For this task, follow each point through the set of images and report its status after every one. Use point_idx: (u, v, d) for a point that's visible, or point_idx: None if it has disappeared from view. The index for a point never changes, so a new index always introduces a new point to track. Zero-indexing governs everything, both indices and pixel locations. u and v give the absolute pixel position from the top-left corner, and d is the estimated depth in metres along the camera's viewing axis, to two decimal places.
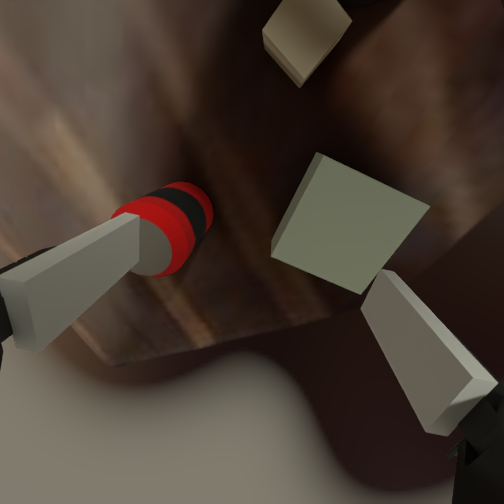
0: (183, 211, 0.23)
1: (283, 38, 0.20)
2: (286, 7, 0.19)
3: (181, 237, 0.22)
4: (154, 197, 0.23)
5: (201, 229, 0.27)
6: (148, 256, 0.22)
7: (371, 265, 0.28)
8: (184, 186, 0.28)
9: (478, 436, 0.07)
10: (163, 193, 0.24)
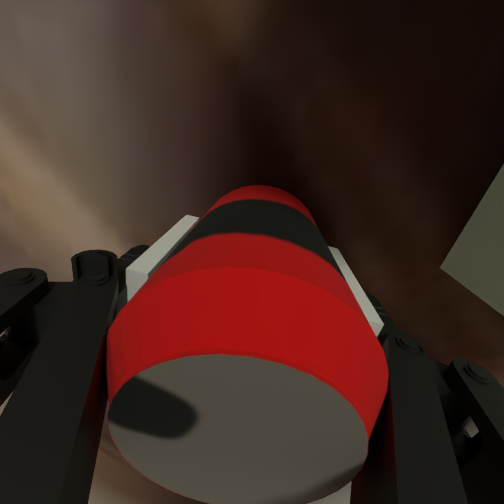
0: (327, 260, 0.07)
1: None
2: None
3: (379, 372, 0.06)
4: (235, 236, 0.07)
5: None
6: (267, 467, 0.06)
7: None
8: (265, 192, 0.12)
9: None
10: (245, 217, 0.08)
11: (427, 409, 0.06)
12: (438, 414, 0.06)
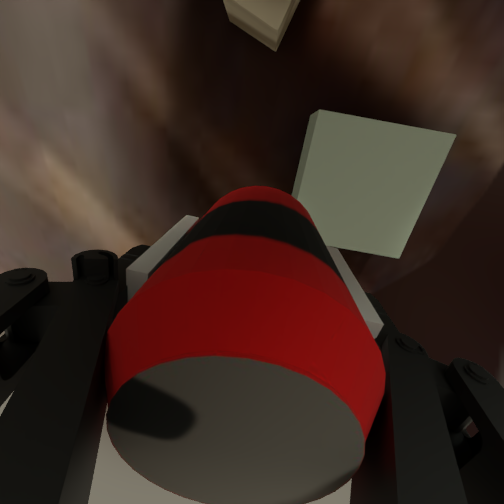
0: (325, 261, 0.07)
1: None
2: None
3: (376, 373, 0.06)
4: (233, 237, 0.07)
5: None
6: (264, 467, 0.06)
7: (403, 221, 0.24)
8: (264, 193, 0.12)
9: None
10: (243, 218, 0.08)
11: (427, 409, 0.06)
12: (438, 414, 0.06)
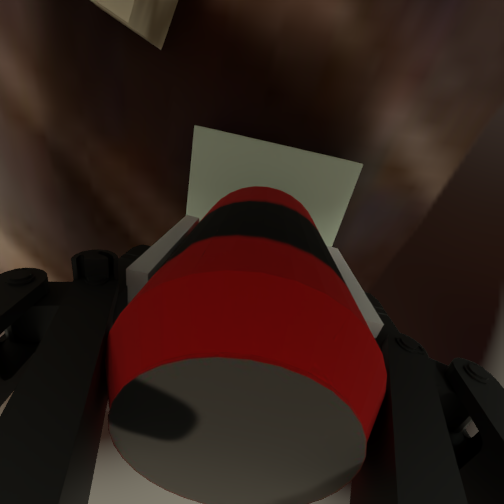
0: (326, 262, 0.07)
1: None
2: None
3: (377, 374, 0.06)
4: (234, 238, 0.07)
5: None
6: (266, 469, 0.06)
7: None
8: (264, 194, 0.12)
9: None
10: (244, 219, 0.08)
11: (427, 409, 0.06)
12: (438, 414, 0.06)
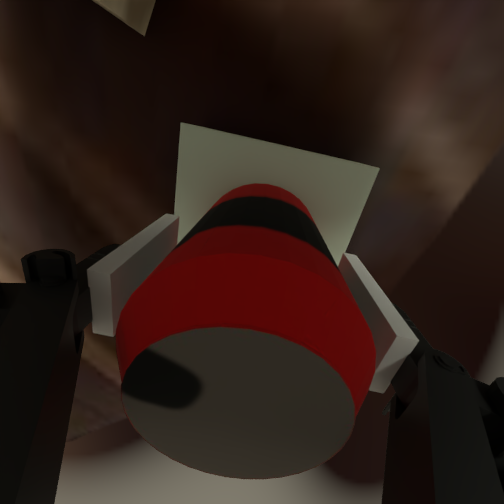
0: (321, 251, 0.08)
1: None
2: None
3: (366, 350, 0.06)
4: (236, 228, 0.07)
5: None
6: (265, 436, 0.06)
7: None
8: (265, 190, 0.13)
9: (404, 391, 0.08)
10: (245, 212, 0.09)
11: (469, 433, 0.06)
12: (481, 439, 0.05)
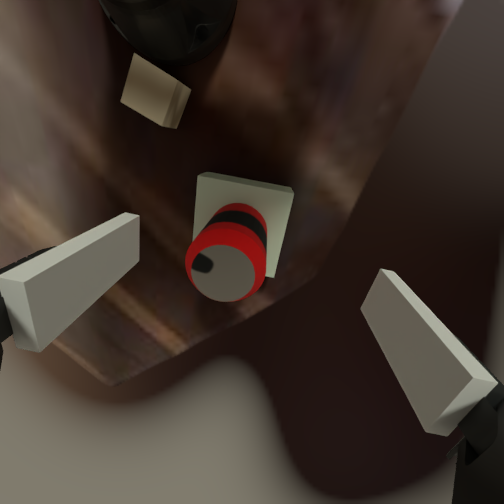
0: (251, 229, 0.23)
1: (137, 103, 0.27)
2: (130, 83, 0.26)
3: (259, 255, 0.21)
4: (222, 222, 0.23)
5: (266, 244, 0.26)
6: (231, 281, 0.22)
7: (271, 251, 0.33)
8: (237, 207, 0.28)
9: (478, 436, 0.07)
10: (226, 217, 0.24)
11: None
12: None
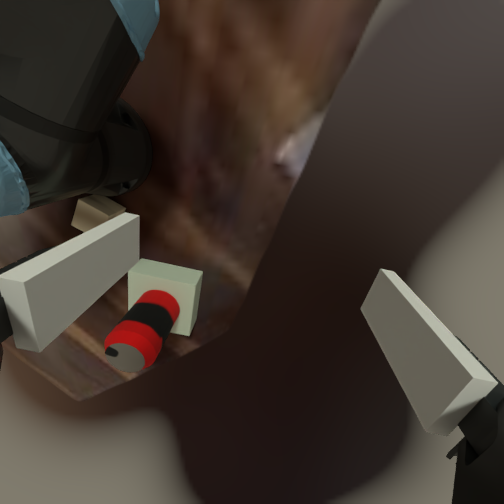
0: (149, 325, 0.36)
1: (82, 226, 0.40)
2: (77, 215, 0.39)
3: (148, 346, 0.34)
4: (129, 321, 0.35)
5: (167, 327, 0.39)
6: (131, 362, 0.34)
7: (185, 319, 0.46)
8: (153, 296, 0.41)
9: (478, 436, 0.07)
10: (136, 313, 0.37)
11: None
12: None
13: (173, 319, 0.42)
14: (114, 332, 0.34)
